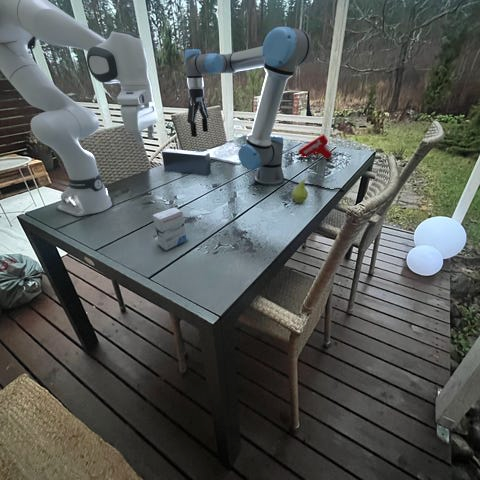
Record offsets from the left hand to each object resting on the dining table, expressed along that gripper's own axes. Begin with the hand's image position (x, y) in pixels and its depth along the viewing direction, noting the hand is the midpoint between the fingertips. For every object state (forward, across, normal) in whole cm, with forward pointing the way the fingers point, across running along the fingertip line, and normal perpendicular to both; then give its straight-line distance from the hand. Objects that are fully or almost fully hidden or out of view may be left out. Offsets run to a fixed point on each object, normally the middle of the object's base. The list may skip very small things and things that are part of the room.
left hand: (146, 141), depth 92 cm
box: (+30, -59, -3) cm, 66 cm away
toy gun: (+30, -88, +75) cm, 120 cm away
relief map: (+30, -94, +19) cm, 100 cm away
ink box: (+30, +16, +9) cm, 36 cm away
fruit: (+30, -20, +57) cm, 67 cm away
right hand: (+9, -56, +7) cm, 58 cm away
